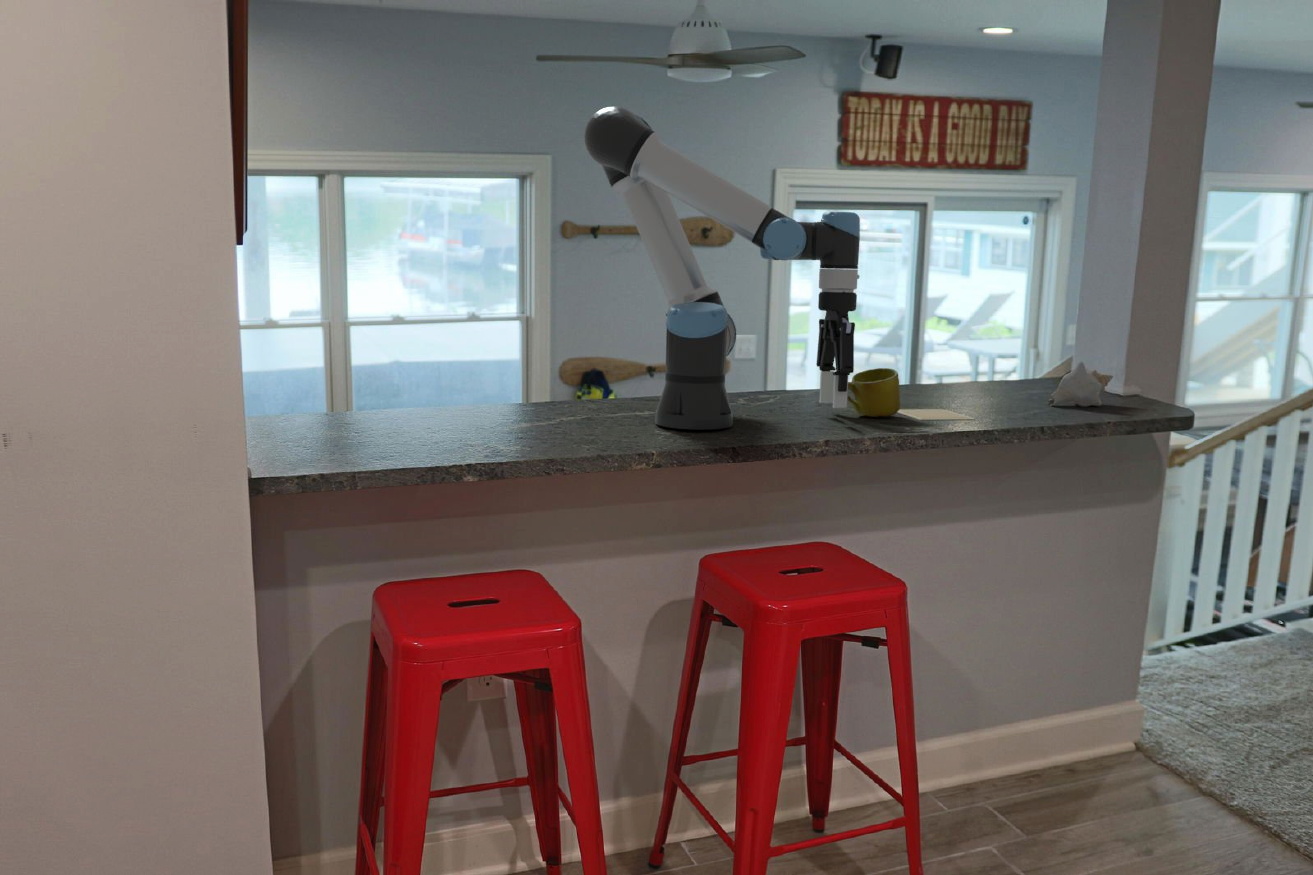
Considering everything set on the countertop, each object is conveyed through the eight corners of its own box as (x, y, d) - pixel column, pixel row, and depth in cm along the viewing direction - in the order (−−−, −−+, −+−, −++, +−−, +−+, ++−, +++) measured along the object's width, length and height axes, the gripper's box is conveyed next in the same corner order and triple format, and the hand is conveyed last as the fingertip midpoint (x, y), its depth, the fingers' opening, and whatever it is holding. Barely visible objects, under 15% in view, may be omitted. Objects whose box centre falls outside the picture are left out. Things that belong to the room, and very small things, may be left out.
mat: (920, 420, 221) (920, 418, 221) (891, 410, 234) (891, 409, 234) (975, 419, 223) (975, 418, 223) (943, 410, 237) (943, 409, 237)
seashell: (1062, 426, 253) (1101, 373, 253) (1092, 435, 243) (1132, 380, 243) (1031, 397, 248) (1070, 344, 249) (1060, 405, 239) (1100, 349, 239)
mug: (901, 393, 229) (892, 353, 224) (909, 421, 221) (900, 380, 215) (843, 407, 232) (833, 368, 226) (849, 435, 223) (838, 395, 218)
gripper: (875, 292, 211) (869, 411, 215) (837, 289, 231) (832, 399, 234) (838, 292, 210) (833, 412, 213) (803, 289, 229) (798, 399, 233)
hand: (832, 405), depth 224 cm, fingers open, 7 cm apart
